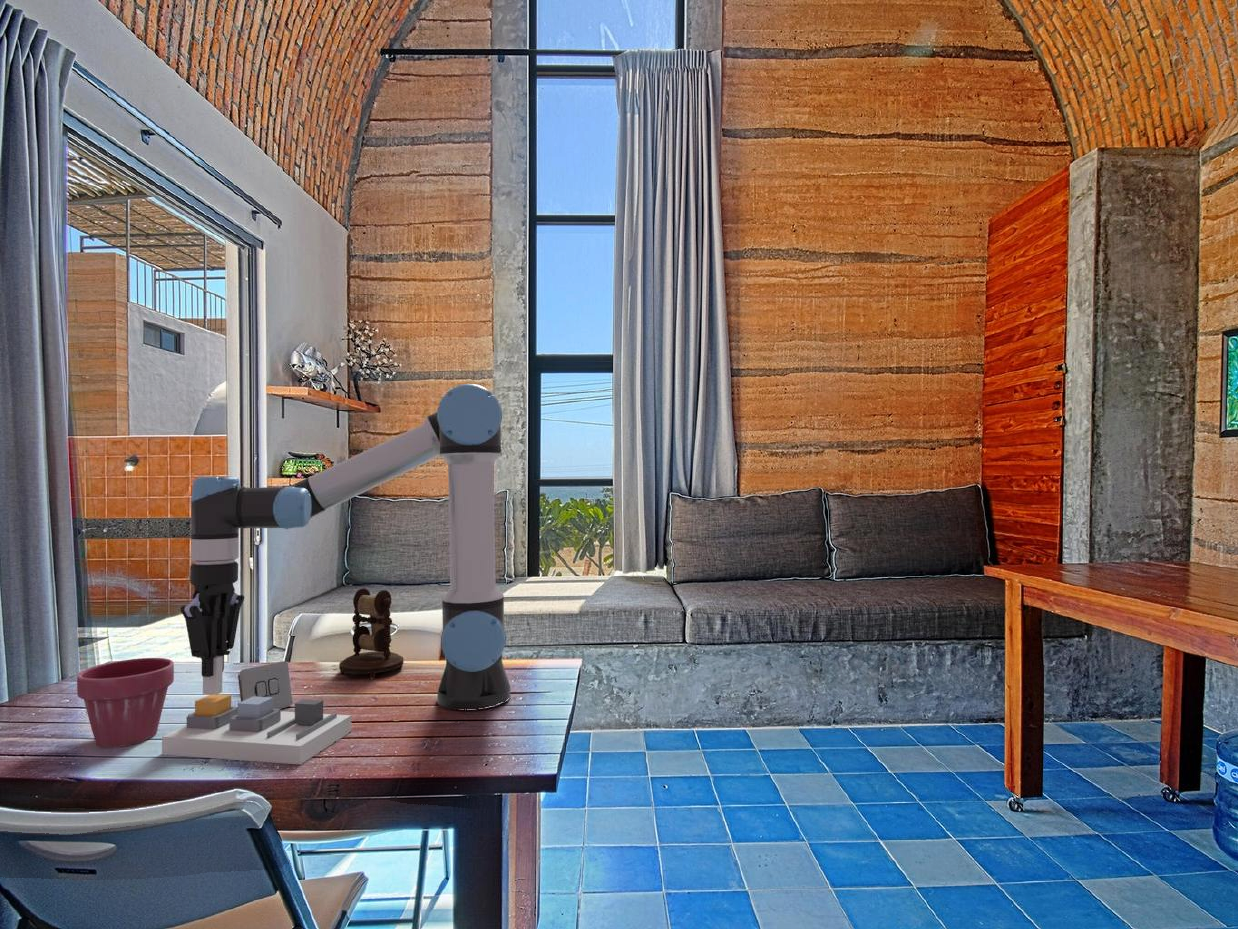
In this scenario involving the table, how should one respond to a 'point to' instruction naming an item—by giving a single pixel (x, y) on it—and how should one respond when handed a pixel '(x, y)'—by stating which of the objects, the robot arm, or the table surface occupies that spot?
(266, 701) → the grey button
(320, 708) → the slide switch
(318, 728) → the switch panel
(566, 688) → the table surface
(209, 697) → the orange button
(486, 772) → the table surface
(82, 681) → the plant pot
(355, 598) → the brown spool stand
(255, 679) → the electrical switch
